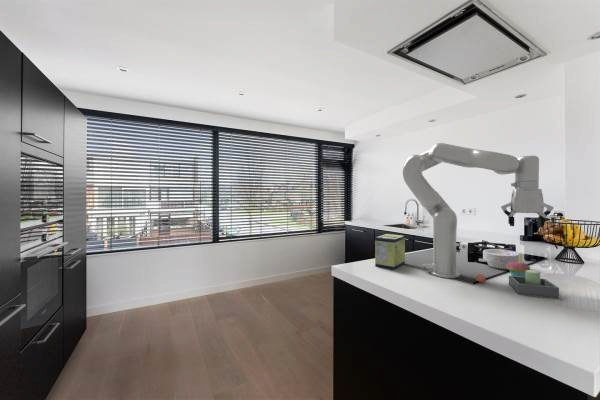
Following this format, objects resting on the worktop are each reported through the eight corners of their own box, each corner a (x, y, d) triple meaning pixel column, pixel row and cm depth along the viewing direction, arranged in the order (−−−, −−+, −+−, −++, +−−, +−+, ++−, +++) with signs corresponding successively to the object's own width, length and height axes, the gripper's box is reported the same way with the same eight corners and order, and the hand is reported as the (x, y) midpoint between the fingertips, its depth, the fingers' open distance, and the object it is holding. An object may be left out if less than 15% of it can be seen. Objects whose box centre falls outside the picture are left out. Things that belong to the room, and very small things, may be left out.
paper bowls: (475, 263, 143) (475, 249, 143) (501, 262, 145) (501, 248, 145) (500, 272, 128) (500, 255, 128) (528, 270, 130) (528, 254, 129)
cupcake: (535, 281, 115) (535, 253, 114) (512, 280, 117) (513, 253, 116) (522, 275, 123) (523, 249, 123) (502, 274, 125) (502, 248, 125)
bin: (518, 294, 101) (518, 283, 101) (508, 284, 111) (508, 275, 111) (558, 298, 97) (559, 287, 96) (545, 288, 106) (545, 278, 106)
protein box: (405, 263, 145) (405, 235, 145) (394, 270, 134) (394, 239, 133) (386, 260, 152) (386, 233, 152) (374, 266, 141) (374, 237, 140)
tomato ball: (476, 283, 114) (476, 275, 113) (474, 280, 117) (474, 272, 117) (486, 284, 112) (486, 276, 112) (484, 281, 115) (484, 273, 115)
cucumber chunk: (527, 290, 102) (528, 272, 102) (523, 286, 107) (523, 269, 106) (542, 292, 101) (542, 273, 100) (537, 288, 105) (537, 270, 105)
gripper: (504, 186, 111) (503, 226, 112) (558, 185, 104) (557, 228, 105) (498, 186, 118) (498, 224, 119) (548, 185, 111) (548, 226, 112)
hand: (525, 226), depth 112 cm, fingers open, 9 cm apart
